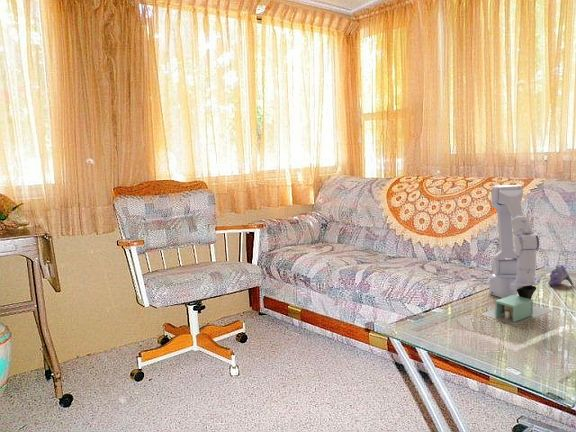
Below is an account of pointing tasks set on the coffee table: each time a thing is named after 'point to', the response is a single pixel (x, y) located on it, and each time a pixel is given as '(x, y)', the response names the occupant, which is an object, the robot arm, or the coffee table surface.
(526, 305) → the block
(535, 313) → the base
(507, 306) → the brown block
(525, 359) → the coffee table surface
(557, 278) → the flower
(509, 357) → the coffee table surface
